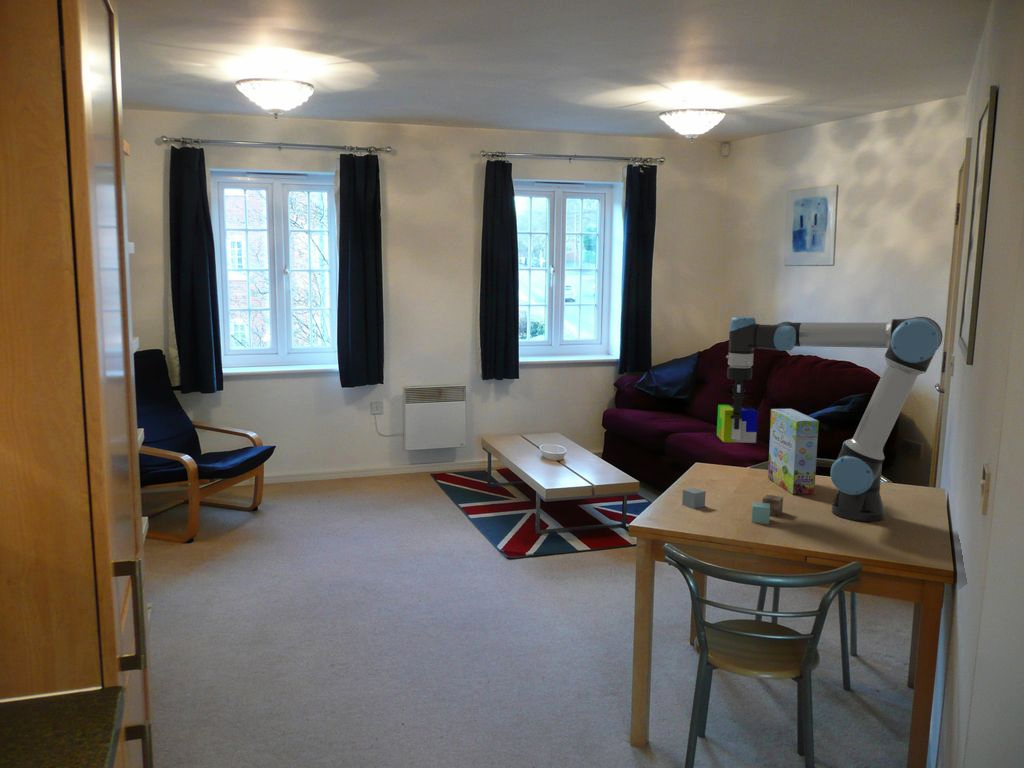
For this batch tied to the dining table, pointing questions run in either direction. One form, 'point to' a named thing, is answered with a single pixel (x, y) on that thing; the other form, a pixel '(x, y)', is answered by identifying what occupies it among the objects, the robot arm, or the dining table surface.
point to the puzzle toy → (746, 424)
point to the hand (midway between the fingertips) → (736, 435)
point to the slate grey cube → (693, 498)
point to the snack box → (793, 451)
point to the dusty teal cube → (760, 512)
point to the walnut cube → (774, 504)
